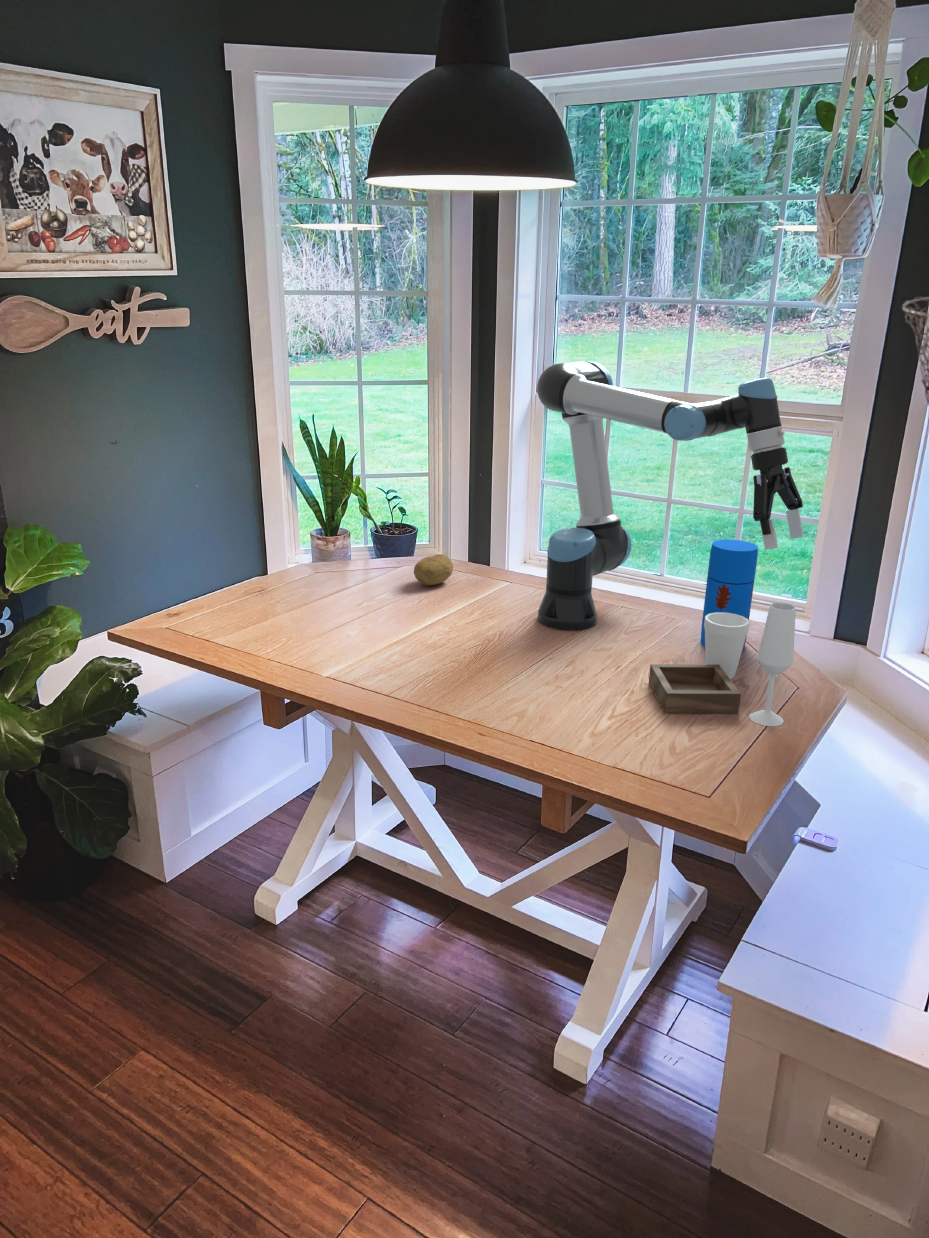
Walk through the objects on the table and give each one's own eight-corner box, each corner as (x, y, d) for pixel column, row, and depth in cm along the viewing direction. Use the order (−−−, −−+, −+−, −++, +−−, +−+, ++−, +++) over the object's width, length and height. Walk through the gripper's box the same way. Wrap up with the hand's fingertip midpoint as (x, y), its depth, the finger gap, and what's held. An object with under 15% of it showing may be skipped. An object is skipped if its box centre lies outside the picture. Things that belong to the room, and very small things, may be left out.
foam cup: (695, 677, 199) (702, 622, 194) (701, 662, 207) (707, 610, 202) (739, 684, 196) (747, 629, 191) (744, 669, 204) (751, 616, 199)
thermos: (694, 646, 216) (706, 547, 208) (705, 633, 225) (716, 537, 217) (740, 655, 211) (754, 553, 203) (749, 641, 220) (762, 543, 212)
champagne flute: (745, 710, 183) (761, 599, 175) (779, 712, 183) (796, 601, 175) (752, 725, 177) (768, 611, 169) (787, 727, 177) (805, 613, 168)
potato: (404, 586, 256) (403, 560, 253) (433, 575, 267) (433, 549, 264) (431, 593, 251) (431, 566, 248) (460, 581, 262) (460, 555, 259)
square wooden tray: (648, 683, 195) (650, 664, 194) (716, 683, 196) (718, 664, 194) (665, 713, 181) (667, 693, 180) (738, 713, 182) (740, 693, 180)
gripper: (758, 452, 187) (776, 551, 190) (806, 440, 205) (823, 531, 207) (725, 459, 192) (743, 555, 195) (775, 447, 210) (791, 535, 212)
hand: (784, 543), depth 201 cm, fingers open, 13 cm apart
